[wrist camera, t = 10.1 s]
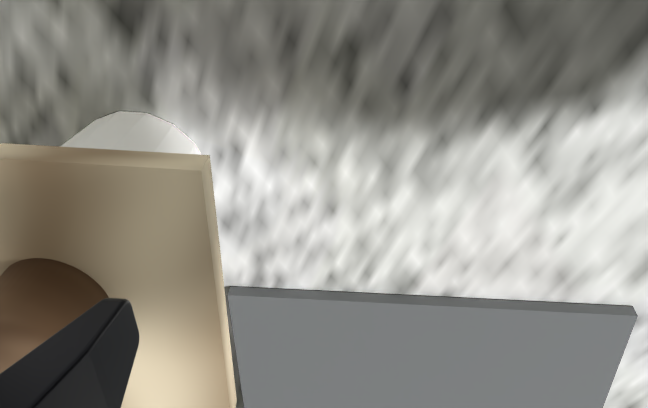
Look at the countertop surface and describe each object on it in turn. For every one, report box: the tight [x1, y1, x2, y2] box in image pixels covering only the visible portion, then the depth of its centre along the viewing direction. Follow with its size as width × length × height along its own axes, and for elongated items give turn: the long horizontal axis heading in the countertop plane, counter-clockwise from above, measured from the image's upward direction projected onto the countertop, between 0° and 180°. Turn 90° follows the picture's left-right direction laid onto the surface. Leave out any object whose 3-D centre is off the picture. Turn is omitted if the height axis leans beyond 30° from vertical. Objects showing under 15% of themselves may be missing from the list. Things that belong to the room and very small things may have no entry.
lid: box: [0, 143, 237, 408], centre depth 16 cm, size 10×10×6 cm
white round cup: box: [60, 111, 201, 155], centre depth 21 cm, size 7×7×7 cm
